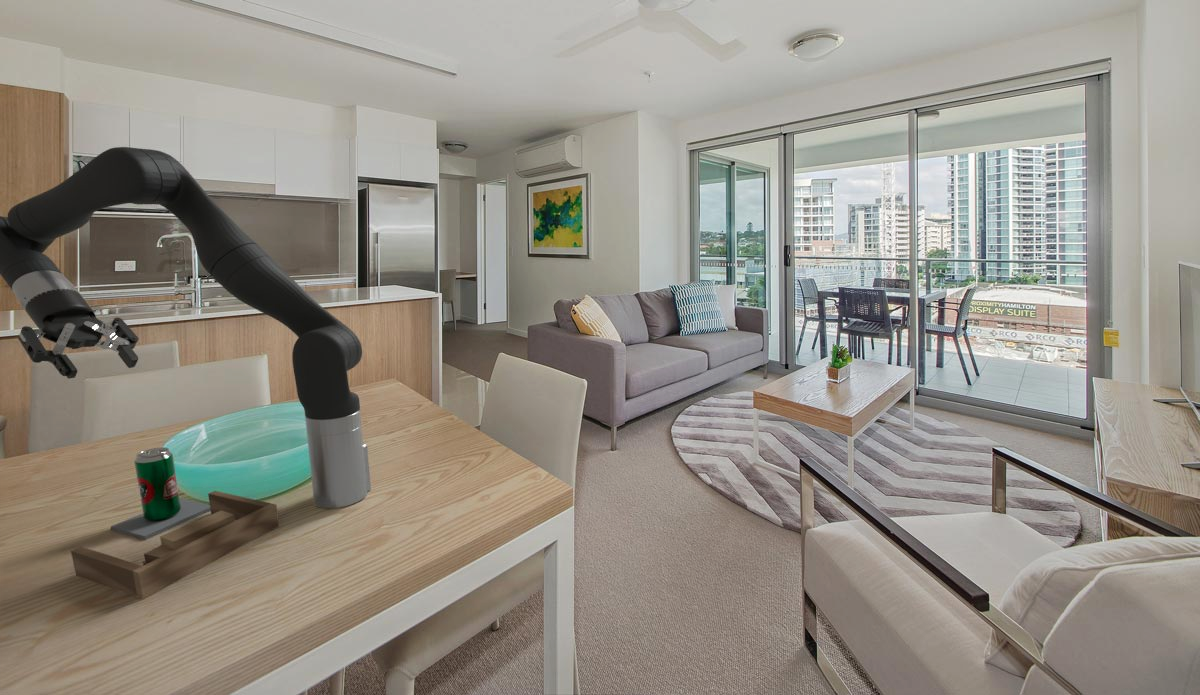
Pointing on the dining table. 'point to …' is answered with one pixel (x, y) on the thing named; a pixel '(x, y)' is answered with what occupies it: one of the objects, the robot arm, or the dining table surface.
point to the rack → (180, 550)
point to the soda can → (157, 484)
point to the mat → (151, 528)
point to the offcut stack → (189, 534)
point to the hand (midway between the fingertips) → (105, 369)
